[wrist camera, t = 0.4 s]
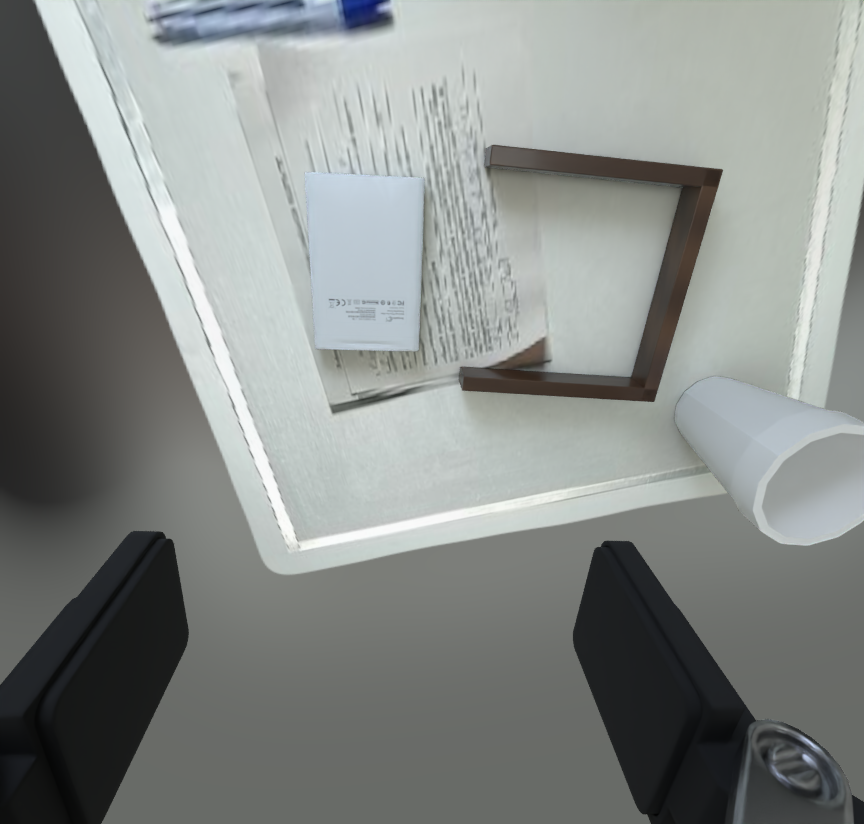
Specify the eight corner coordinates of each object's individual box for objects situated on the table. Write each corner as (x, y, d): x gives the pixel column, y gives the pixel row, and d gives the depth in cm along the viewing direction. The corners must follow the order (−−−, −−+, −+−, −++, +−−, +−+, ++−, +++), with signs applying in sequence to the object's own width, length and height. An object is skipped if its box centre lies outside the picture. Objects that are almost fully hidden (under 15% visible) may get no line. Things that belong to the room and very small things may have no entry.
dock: (485, 147, 34) (491, 144, 32) (702, 171, 35) (723, 169, 33) (458, 379, 41) (462, 390, 39) (640, 391, 42) (654, 402, 40)
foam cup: (720, 466, 46) (831, 559, 34) (638, 438, 44) (725, 527, 32) (781, 378, 43) (928, 448, 31) (695, 344, 41) (816, 404, 29)
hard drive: (424, 178, 34) (418, 346, 39) (307, 172, 34) (317, 344, 39) (425, 177, 33) (419, 352, 38) (303, 171, 32) (313, 350, 37)
